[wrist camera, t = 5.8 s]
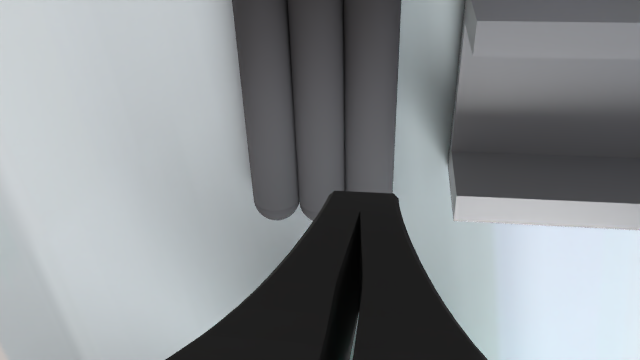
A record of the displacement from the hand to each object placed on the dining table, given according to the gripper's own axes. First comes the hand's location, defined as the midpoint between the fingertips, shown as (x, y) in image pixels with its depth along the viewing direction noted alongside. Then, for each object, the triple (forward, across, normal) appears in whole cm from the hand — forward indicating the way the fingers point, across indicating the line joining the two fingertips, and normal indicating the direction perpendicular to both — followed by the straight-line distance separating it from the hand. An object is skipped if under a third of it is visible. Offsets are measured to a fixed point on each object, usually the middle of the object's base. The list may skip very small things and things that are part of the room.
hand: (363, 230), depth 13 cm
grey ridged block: (+6, +2, 0) cm, 6 cm away
